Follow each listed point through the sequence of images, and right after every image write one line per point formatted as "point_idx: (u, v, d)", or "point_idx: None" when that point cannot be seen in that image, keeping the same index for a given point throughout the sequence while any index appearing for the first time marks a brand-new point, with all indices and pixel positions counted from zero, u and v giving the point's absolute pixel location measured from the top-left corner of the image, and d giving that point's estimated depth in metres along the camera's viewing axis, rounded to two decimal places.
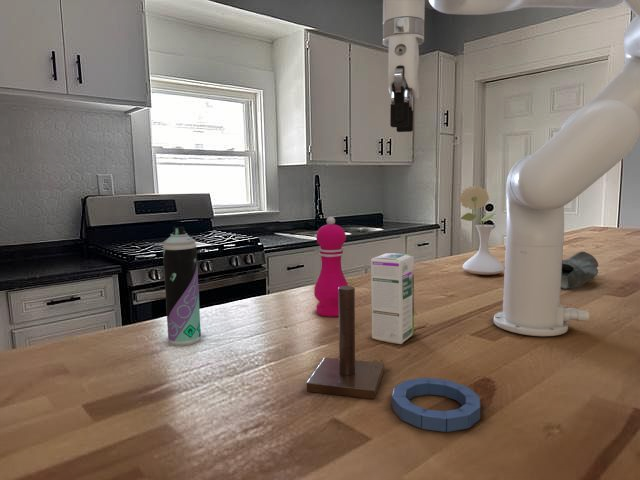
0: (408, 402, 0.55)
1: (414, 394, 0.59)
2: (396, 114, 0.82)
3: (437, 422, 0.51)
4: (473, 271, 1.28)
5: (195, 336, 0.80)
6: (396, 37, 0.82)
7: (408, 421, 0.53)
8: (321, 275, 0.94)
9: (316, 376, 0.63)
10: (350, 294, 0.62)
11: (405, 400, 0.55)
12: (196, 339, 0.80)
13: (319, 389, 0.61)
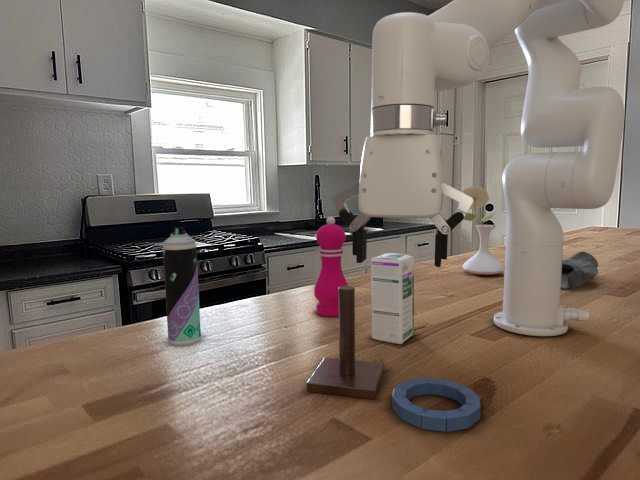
0: (408, 402, 0.55)
1: (414, 394, 0.59)
2: None
3: (437, 422, 0.51)
4: (473, 271, 1.28)
5: (195, 336, 0.80)
6: (437, 137, 0.55)
7: (408, 421, 0.53)
8: (321, 275, 0.94)
9: (316, 376, 0.63)
10: (350, 294, 0.62)
11: (405, 400, 0.55)
12: (196, 339, 0.80)
13: (319, 389, 0.61)
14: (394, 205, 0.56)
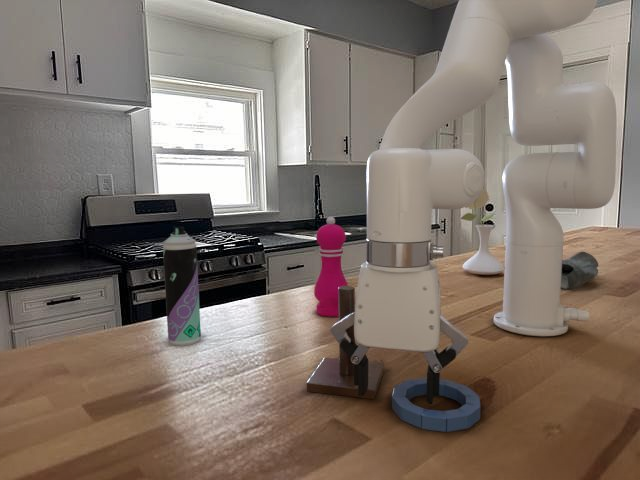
0: (408, 402, 0.55)
1: (414, 394, 0.59)
2: None
3: (437, 422, 0.51)
4: (473, 271, 1.28)
5: (195, 336, 0.80)
6: (435, 271, 0.53)
7: (408, 421, 0.53)
8: (321, 275, 0.94)
9: (316, 376, 0.63)
10: (350, 294, 0.62)
11: (405, 400, 0.55)
12: (196, 339, 0.80)
13: (319, 389, 0.61)
14: (391, 339, 0.54)
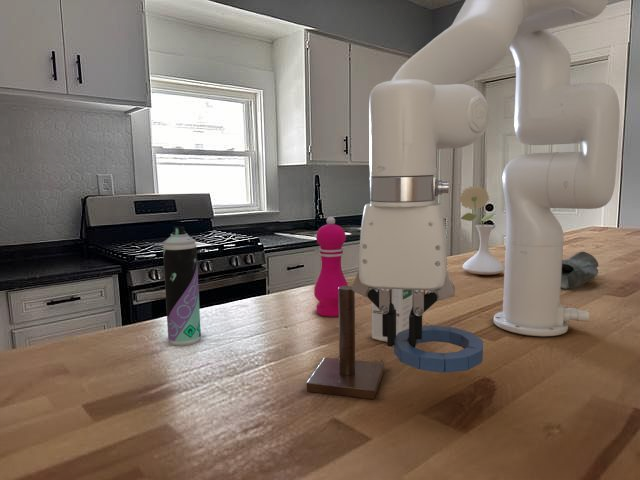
0: (408, 345, 0.54)
1: (418, 340, 0.59)
2: (421, 329, 0.55)
3: (435, 363, 0.51)
4: (473, 271, 1.28)
5: (195, 336, 0.80)
6: (440, 206, 0.52)
7: (407, 363, 0.53)
8: (321, 275, 0.94)
9: (316, 376, 0.63)
10: (350, 294, 0.62)
11: (406, 344, 0.55)
12: (196, 339, 0.80)
13: (319, 389, 0.61)
14: (396, 277, 0.53)
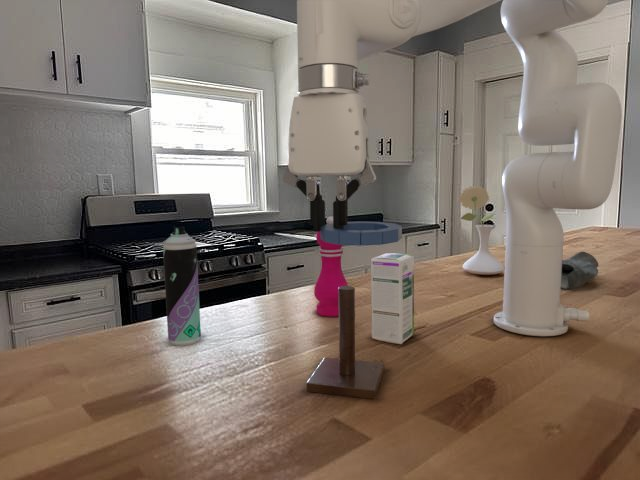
0: (332, 228, 0.59)
1: None
2: (345, 215, 0.60)
3: (352, 237, 0.55)
4: (473, 271, 1.28)
5: (195, 336, 0.80)
6: (360, 96, 0.57)
7: (329, 241, 0.57)
8: (321, 275, 0.94)
9: (316, 376, 0.63)
10: (350, 294, 0.62)
11: (330, 227, 0.59)
12: (196, 339, 0.80)
13: (319, 389, 0.61)
14: (320, 163, 0.58)
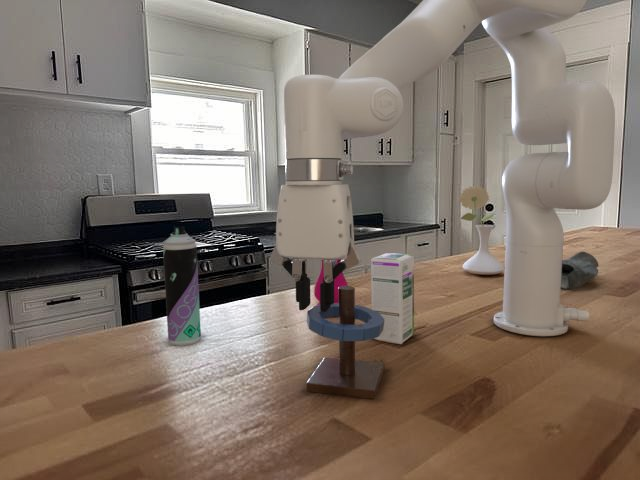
0: (318, 316, 0.62)
1: (332, 315, 0.66)
2: (332, 295, 0.63)
3: (335, 332, 0.58)
4: (473, 271, 1.28)
5: (195, 336, 0.80)
6: (344, 186, 0.60)
7: (314, 330, 0.60)
8: (321, 275, 0.94)
9: (316, 376, 0.63)
10: (350, 294, 0.62)
11: (317, 314, 0.62)
12: (196, 339, 0.80)
13: (319, 389, 0.61)
14: (306, 248, 0.61)
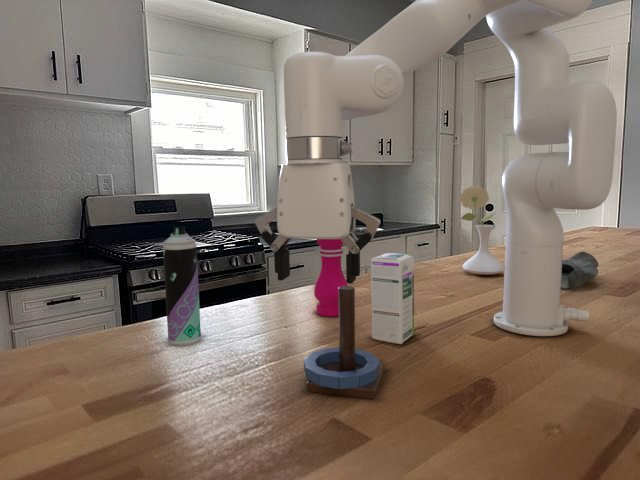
0: (314, 364, 0.63)
1: (329, 360, 0.67)
2: (358, 266, 0.61)
3: (331, 380, 0.59)
4: (473, 271, 1.28)
5: (195, 336, 0.80)
6: (345, 164, 0.60)
7: (310, 380, 0.61)
8: (321, 275, 0.94)
9: None
10: (350, 294, 0.62)
11: (313, 363, 0.63)
12: (196, 339, 0.80)
13: (319, 389, 0.61)
14: (308, 228, 0.61)
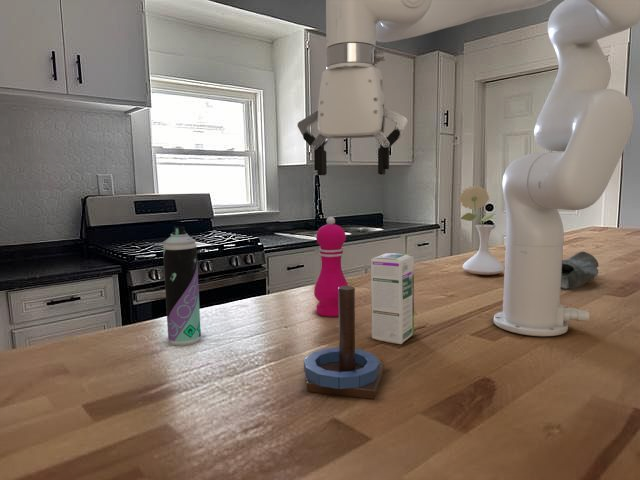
0: (314, 364, 0.63)
1: (329, 360, 0.67)
2: (388, 160, 0.71)
3: (331, 380, 0.59)
4: (473, 271, 1.28)
5: (195, 336, 0.80)
6: (378, 70, 0.69)
7: (310, 380, 0.61)
8: (321, 275, 0.94)
9: None
10: (350, 294, 0.62)
11: (313, 363, 0.63)
12: (196, 339, 0.80)
13: (319, 389, 0.61)
14: (345, 125, 0.70)
